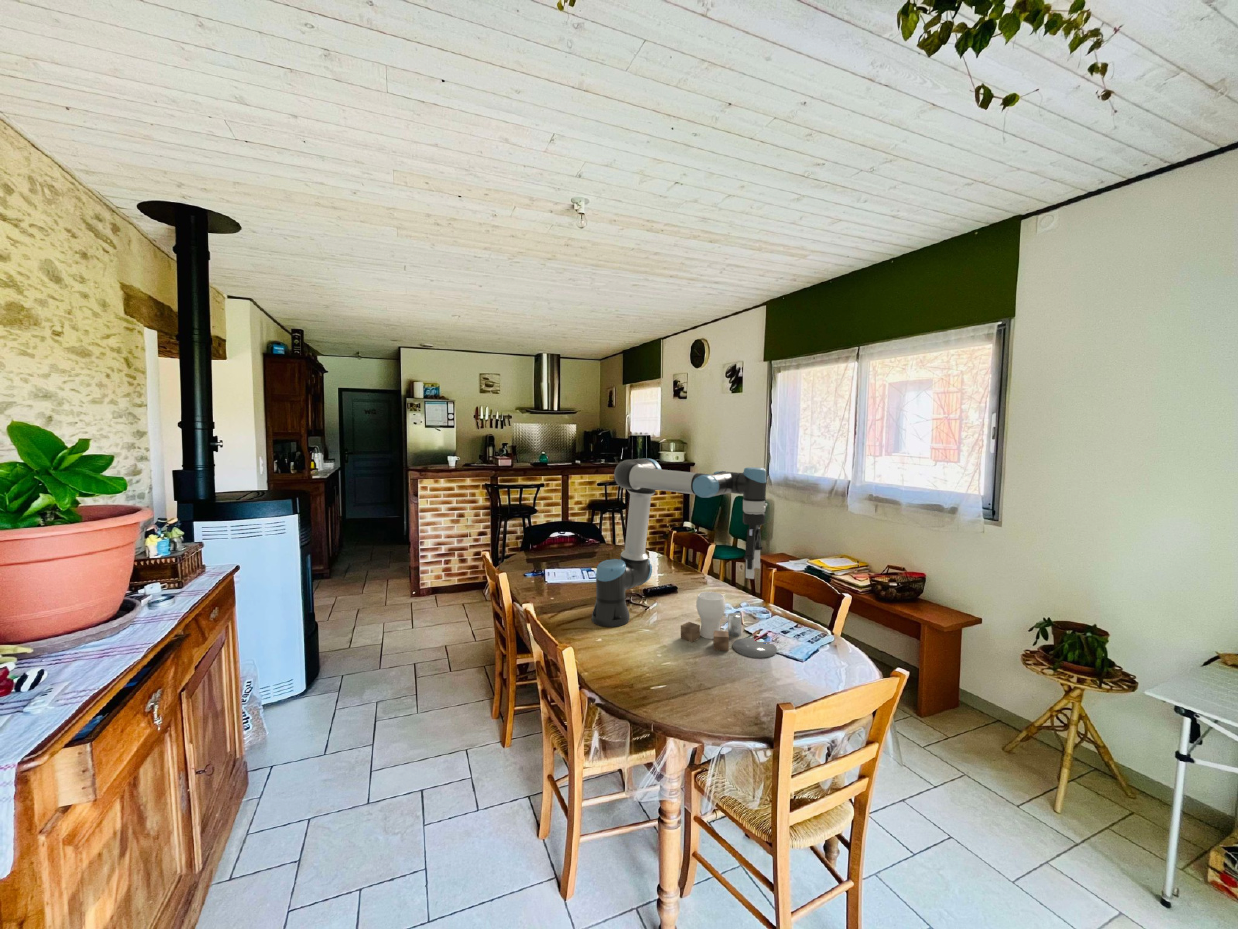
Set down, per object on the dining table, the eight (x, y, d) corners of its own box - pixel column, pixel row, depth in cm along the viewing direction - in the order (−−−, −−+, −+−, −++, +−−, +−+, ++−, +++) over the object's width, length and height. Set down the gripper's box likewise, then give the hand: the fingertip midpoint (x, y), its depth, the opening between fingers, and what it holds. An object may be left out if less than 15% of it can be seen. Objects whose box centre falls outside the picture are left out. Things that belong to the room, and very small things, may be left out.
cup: (724, 642, 185) (725, 601, 183) (695, 639, 187) (695, 599, 186) (724, 630, 195) (725, 592, 194) (696, 628, 197) (697, 590, 196)
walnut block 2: (713, 650, 178) (714, 636, 178) (713, 644, 183) (713, 630, 183) (728, 651, 177) (728, 637, 177) (727, 645, 182) (728, 631, 182)
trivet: (728, 653, 176) (728, 651, 176) (737, 636, 189) (737, 635, 189) (774, 661, 170) (774, 659, 170) (779, 643, 183) (779, 642, 183)
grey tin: (726, 635, 191) (726, 616, 190) (729, 630, 196) (729, 612, 195) (739, 637, 189) (740, 618, 188) (742, 632, 194) (742, 614, 193)
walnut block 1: (680, 638, 188) (680, 625, 187) (688, 634, 191) (688, 621, 191) (691, 642, 184) (691, 629, 184) (699, 638, 188) (699, 625, 187)
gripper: (760, 519, 163) (758, 584, 165) (769, 507, 186) (768, 565, 187) (736, 517, 166) (735, 581, 168) (748, 506, 189) (747, 562, 190)
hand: (752, 573), depth 177 cm, fingers open, 13 cm apart
